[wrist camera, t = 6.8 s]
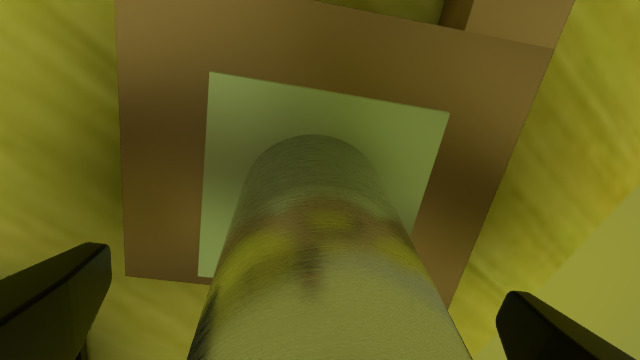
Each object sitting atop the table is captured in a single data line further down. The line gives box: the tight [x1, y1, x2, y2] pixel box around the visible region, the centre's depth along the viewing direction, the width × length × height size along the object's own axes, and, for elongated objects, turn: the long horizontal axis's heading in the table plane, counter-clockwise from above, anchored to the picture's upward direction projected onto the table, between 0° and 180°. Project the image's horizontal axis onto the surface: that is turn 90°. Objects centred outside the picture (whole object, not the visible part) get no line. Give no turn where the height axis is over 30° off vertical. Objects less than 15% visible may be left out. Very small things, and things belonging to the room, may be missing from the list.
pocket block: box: [115, 0, 575, 310], centre depth 11 cm, size 18×12×2 cm, turn 170°
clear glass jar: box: [187, 134, 473, 360], centre depth 8 cm, size 4×4×9 cm
